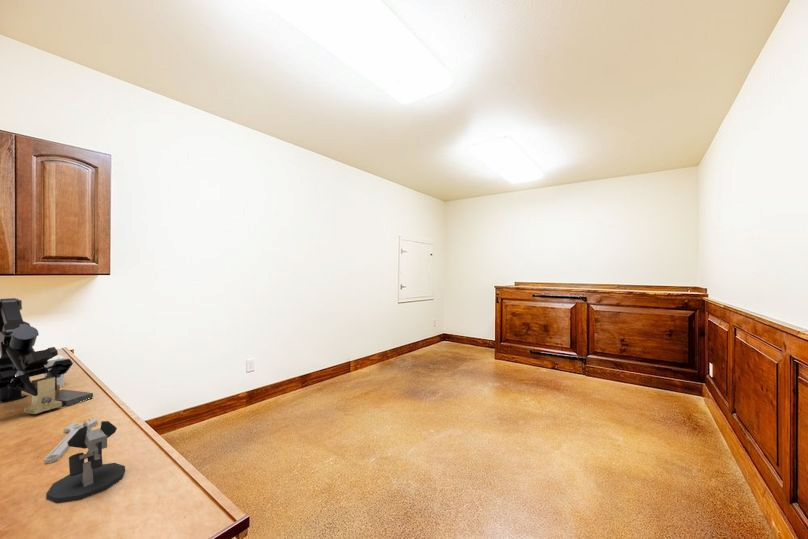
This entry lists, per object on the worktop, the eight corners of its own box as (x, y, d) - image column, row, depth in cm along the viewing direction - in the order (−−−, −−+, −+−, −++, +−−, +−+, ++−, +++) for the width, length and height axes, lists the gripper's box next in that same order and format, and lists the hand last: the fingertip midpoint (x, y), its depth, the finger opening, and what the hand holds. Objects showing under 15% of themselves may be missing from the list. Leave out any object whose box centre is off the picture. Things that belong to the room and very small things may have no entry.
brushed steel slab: (35, 402, 121) (35, 388, 121) (63, 394, 129) (63, 381, 129) (66, 406, 117) (66, 392, 117) (93, 398, 125) (92, 384, 125)
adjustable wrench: (57, 464, 82) (57, 457, 82) (20, 471, 80) (20, 463, 80) (100, 422, 105) (99, 416, 105) (72, 426, 103) (72, 420, 103)
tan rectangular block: (24, 412, 110) (24, 381, 110) (51, 404, 117) (51, 375, 117) (34, 414, 109) (34, 382, 109) (61, 405, 115) (61, 376, 115)
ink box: (44, 385, 140) (44, 357, 140) (61, 382, 144) (60, 354, 144) (47, 390, 134) (47, 360, 135) (64, 386, 138) (64, 357, 139)
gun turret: (112, 451, 87) (112, 401, 87) (132, 481, 74) (132, 422, 74) (40, 474, 77) (40, 418, 77) (49, 514, 64) (49, 446, 65)
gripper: (-5, 347, 105) (19, 386, 102) (69, 336, 123) (91, 368, 120) (-21, 370, 107) (2, 409, 104) (54, 356, 125) (75, 389, 122)
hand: (46, 392), depth 112 cm, fingers closed on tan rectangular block, 4 cm apart
